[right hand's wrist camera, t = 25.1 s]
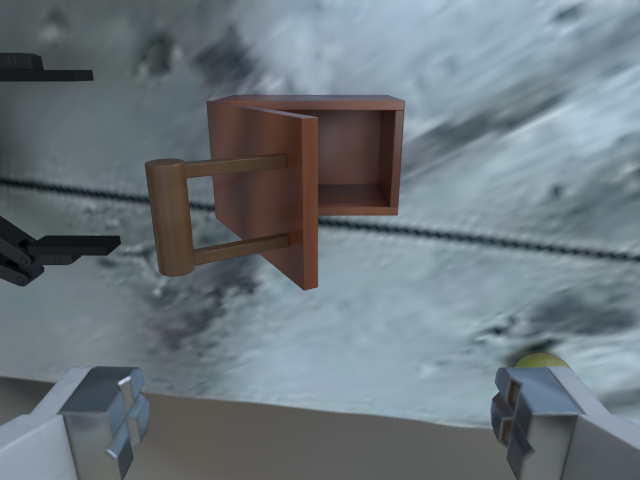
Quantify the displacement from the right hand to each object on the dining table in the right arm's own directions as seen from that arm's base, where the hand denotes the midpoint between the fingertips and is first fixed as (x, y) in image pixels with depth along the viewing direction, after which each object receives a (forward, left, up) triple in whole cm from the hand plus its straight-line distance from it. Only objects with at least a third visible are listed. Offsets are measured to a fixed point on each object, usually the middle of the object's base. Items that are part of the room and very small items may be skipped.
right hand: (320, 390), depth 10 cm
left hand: (+8, +16, -27) cm, 33 cm away
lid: (+2, +4, -22) cm, 22 cm away
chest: (0, +1, -38) cm, 39 cm away
